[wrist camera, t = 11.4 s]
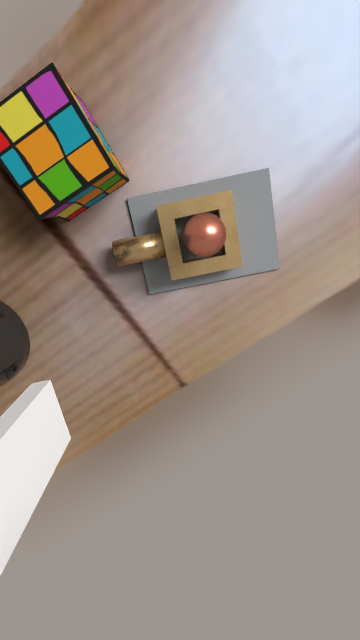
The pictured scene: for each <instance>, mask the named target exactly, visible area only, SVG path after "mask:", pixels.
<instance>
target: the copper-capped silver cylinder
mask: <svg viewBox="0 0 360 640" xmlns="http://www.w3.org/2000/svg"><path fill="white" fill-rule="evenodd" d="M183 239H184V242H185V244H186V246H187V248H188V249H189V250H190V251H191V252H192V253H194V254H195V255H198V256H202V257H207V256H212V255H214V254H216V253H217V252H218V251H219V250H220V249H221V248H222V247H223V245H224V243H225V240H226V228H225V225H224V223H223V222H222V220H221V219H220V218H219V217H217V216H216V215H214V214H211V213H200V214H197V215H195V216H193V217H192V218H191V219H190V220H189V221H188V223H187V224H186V226H185V229H184V233H183Z"/></svg>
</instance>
